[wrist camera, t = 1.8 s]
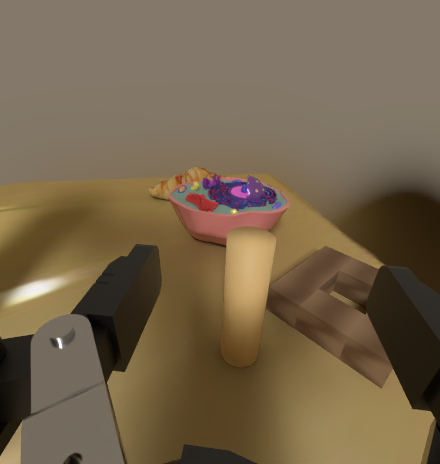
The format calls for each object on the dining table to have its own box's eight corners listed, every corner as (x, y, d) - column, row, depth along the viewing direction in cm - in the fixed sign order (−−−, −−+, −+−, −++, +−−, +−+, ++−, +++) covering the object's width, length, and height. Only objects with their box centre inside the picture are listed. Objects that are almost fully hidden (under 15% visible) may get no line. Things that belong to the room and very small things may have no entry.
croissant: (153, 218, 63) (153, 195, 57) (144, 185, 68) (143, 161, 61) (237, 204, 70) (245, 182, 64) (223, 175, 75) (230, 152, 69)
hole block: (265, 307, 35) (268, 286, 33) (320, 264, 44) (325, 245, 42) (381, 388, 26) (394, 365, 25) (421, 314, 35) (433, 293, 33)
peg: (212, 349, 29) (216, 236, 23) (238, 329, 32) (248, 221, 25) (240, 375, 27) (254, 258, 20) (265, 351, 29) (285, 239, 23)
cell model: (182, 212, 58) (180, 158, 53) (277, 219, 57) (286, 165, 51) (159, 258, 44) (153, 190, 38) (287, 269, 42) (300, 200, 37)
